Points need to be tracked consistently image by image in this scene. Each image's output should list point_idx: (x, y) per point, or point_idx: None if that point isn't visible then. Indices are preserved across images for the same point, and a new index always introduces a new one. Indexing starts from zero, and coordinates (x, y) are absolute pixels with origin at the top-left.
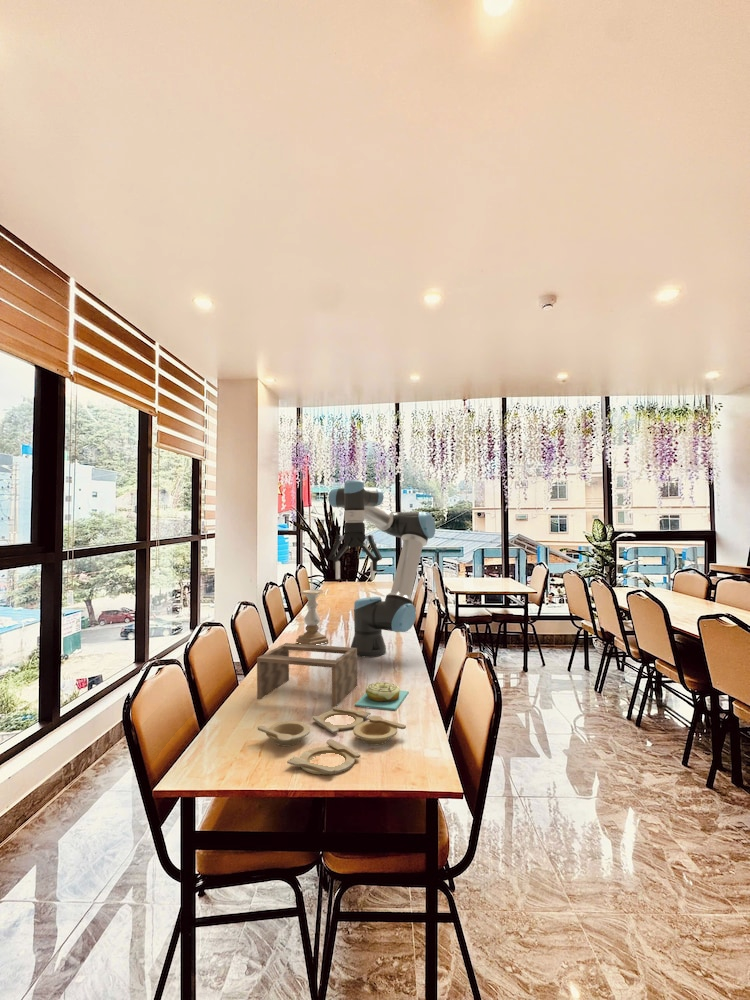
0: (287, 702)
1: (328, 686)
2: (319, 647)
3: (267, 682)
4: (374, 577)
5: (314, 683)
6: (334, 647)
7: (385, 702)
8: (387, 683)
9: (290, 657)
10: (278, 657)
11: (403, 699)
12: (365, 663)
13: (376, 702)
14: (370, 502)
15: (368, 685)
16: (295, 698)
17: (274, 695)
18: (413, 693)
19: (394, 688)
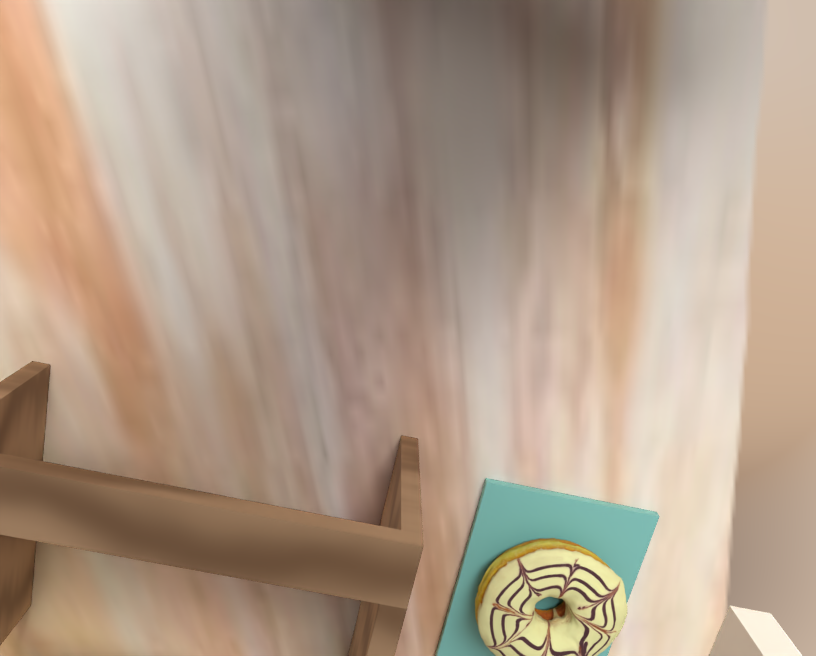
0: (157, 631)
1: (279, 445)
2: (177, 546)
3: (6, 589)
4: (788, 651)
5: (199, 407)
6: (275, 542)
7: None
8: (576, 591)
9: None
10: None
11: (628, 591)
12: (421, 14)
13: None
14: None
15: (488, 602)
16: (174, 590)
17: (71, 563)
18: (677, 514)
19: (605, 640)
